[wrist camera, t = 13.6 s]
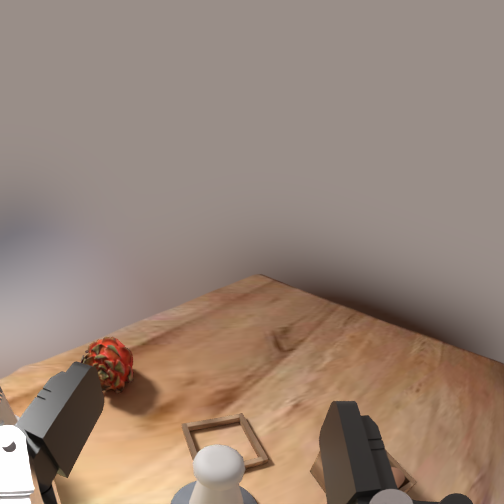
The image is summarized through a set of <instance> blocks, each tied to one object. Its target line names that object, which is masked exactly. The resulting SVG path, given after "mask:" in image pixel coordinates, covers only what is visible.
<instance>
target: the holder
mask: <svg viewBox="0 0 504 504" xmlns="http://www.w3.org/2000/svg"><path fill="white" fill-rule="evenodd" d="M235 422H240V424H241V426H242V428H243V430H244V432H245V434H246V436H247V438H248V439H249V441H250V443H251V445H252V447H253V449H254V450H255V452H256V454H257V456H258V458H254V459H250V460H247V461H244V465H245V469H247V468H250V467H254V466H258V465H261V464H265V463H267V462H268V458H267V456H266V454H265V452H264V451H263V449H262V447H261V446H260V444H259V442H258V440H257V439H256V437H255V435H254V433H253V432H252V430H251V428H250V426H249V424H248V423H247V421H246V419H245V417H244V415H243V413H241V414H236V415H231V416H226V417H220V418H215V419H209V420H203V421H197V422H191V423H184V424H182V430H183V433H184V436H185V439H186V442H187V445H188V448H189V451H190V453H191V456H192V459H193V461H194V458H195V457H196V455H197V451H196V449H195V446H194V443H193V440H192V438H191V435H190V432H189V431H191V430H197V429H203V428H209V427H214V426H220V425H225V424H230V423H235Z"/></svg>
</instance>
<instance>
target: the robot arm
mask: <svg viewBox="0 0 504 504" xmlns="http://www.w3.org/2000/svg"><path fill="white" fill-rule="evenodd" d="M103 407H104V395H103V392H102V388H101V384H100V380H99V376H98V372H97V369H96V367H94V366H90V365H87V364H83V363H80V362H74V363H73V364H72V365H71V366H70V368H69V369H68V370H67V372H66V373H65V372H62V371H61V372H60V373H58V374H56V375H55V376H53V377H52V378H50V379H49V381H48V382H47V383H46V384H45V386H44V387H43V390H41V391H40V392H39V393H38V395H37V398H36V397H35V399H34V400H33V401H32V403H31V404H30V405H29V407H28V408H27V409H26V411H25V412H24V413H23V415H22V416H21V417H20V419H19V420H18V421H17V423H16V424H15V425H14V426H13V427H12V426H3V427H0V504H61V502H60V498H59V495H58V492H57V488H56V485H55V482H54V478H55V476H56V474H59V475H62V476H64V477H66V478H68V476H69V474H70V472H71V470H72V468H73V466H74V464H75V462H76V460H77V458H78V456H79V454H80V452H81V450H82V448H83V447H84V445H85V443H86V441H87V439H88V437H89V435H90V433H91V431H92V429H93V428H94V426H95V424H96V422H97V420H98V418H99V416H100V415H101V413H102V410H103ZM381 439H382V437H381V434H380V431H379V428H378V426H377V425H376V424H375V422H374V421H373V420H372V419H371V418H370V417H369V415H367V416H361V415H360V412H359V409H358V405H357V403H356V402H355V401H333V402H332V403H331V405H330V408H329V410H328V413H327V415H326V418H325V420H324V423H323V425H322V428H321V431H320V437H319V445H320V452H321V459H322V466H323V474H324V481H325V489H326V497H327V504H473V503H472V501H471V500H470V499H469V498H468V497H467V496H465V495H463V494H458V493H454V494H450V495H448V496H446V497H445V498H444V499H442V500H441V501H440V502H427V501H415V500H412V499H411V498H410V497H409V496H408V495H407V494H406V493H404V492H402V491H400V490H399V489H398V487H397V485H396V482H395V478H394V475H393V472H392V469H391V465H390V462H389V459H388V456H387V453H386V450H385V447H384V444H383V441H382V440H381Z"/></svg>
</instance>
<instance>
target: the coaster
mask: <svg viewBox="0 0 504 504" xmlns="http://www.w3.org/2000/svg"><path fill="white" fill-rule="evenodd" d="M195 484H196V481H195V482H192V483H190V484H188V485H186V486H184V487H183V488H181V489H180V490H179V491H178V492H177V493H176V494H175V496H174V497H173V499H172V501H171V504H189V501H190V498H191V495H192V492H193V490H194V487H195ZM239 487H240V486H239ZM240 491H241V494H242V498H243V503H244V504H257V503H256V501H255V499H254V498H253V497H252V495H251V494H250V493H249V492H248V491H246V490H245V489H244V488H242V487H240Z"/></svg>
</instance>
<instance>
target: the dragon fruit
mask: <svg viewBox="0 0 504 504" xmlns="http://www.w3.org/2000/svg"><path fill="white" fill-rule="evenodd" d="M88 352H89V354H88V355H86V356H85V358H84V355H83V356H82V358H81V363H83V364H87V365H90V366H94V367H96V369H97V372H98V376H99V380H100V384H101V388H102V391H104V390H108V389H113V390H114V391H115V392H116V393H119V392H122V391H123V389H124V386H125V382H128V383H129V382H132V381H133V370H132V366H133V357H132V353H131V351H130V350H129V349H128V348H126V347H125V346H124V345H123V344H122V343H121V342H120V341H119V340H118V339H116V338H114V337H111V338H110V337H104V339H103V340H97V342H93V343H92V344H90V345H89V346H88V350H87V351H86V352H85V353H88Z"/></svg>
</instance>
